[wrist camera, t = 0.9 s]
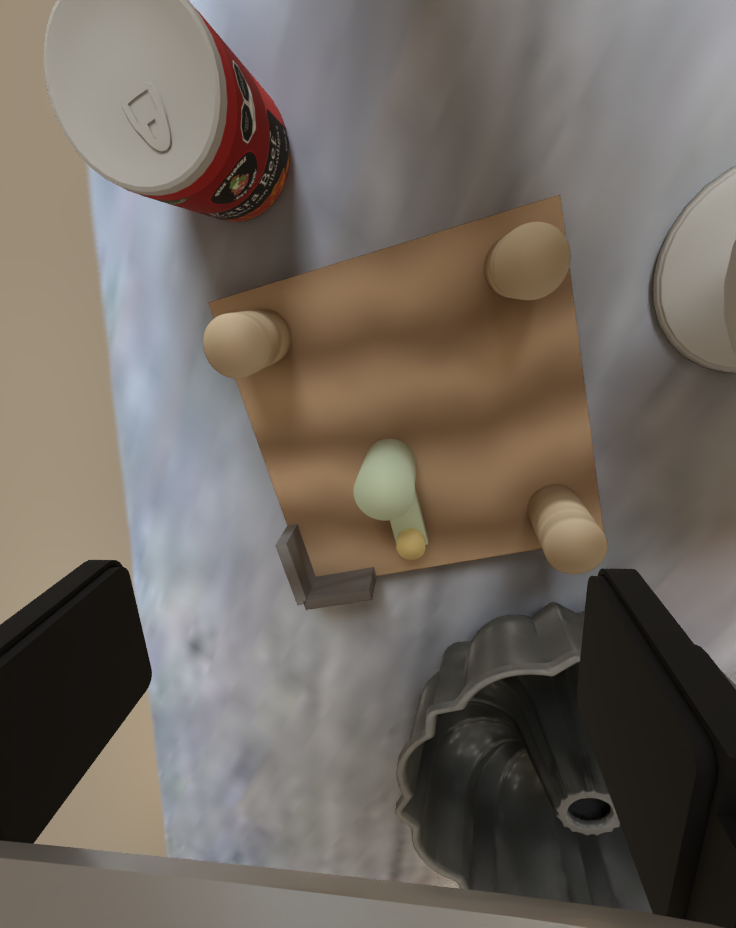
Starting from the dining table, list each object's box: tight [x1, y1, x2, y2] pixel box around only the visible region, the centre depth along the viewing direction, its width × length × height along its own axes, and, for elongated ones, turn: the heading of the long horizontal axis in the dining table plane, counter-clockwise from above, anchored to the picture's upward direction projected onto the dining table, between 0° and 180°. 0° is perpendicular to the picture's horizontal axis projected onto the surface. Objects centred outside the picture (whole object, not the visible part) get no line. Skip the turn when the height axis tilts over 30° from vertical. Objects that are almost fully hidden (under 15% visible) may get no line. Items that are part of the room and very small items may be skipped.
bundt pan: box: [395, 602, 736, 914], centre depth 37 cm, size 26×26×10 cm
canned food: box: [44, 0, 289, 222], centre depth 25 cm, size 8×8×11 cm
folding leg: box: [354, 439, 428, 560], centre depth 31 cm, size 9×4×6 cm, turn 15°
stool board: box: [203, 195, 608, 610], centre depth 31 cm, size 22×22×8 cm
